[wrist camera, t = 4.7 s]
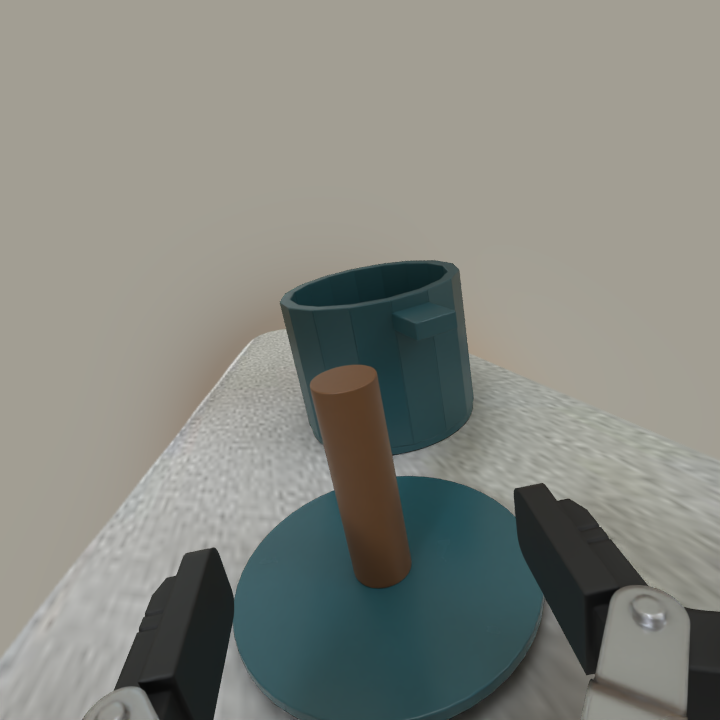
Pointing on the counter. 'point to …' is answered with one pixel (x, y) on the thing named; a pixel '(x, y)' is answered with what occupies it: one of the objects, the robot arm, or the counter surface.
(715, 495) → the counter surface
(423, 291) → the cooking pot
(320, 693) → the lid
